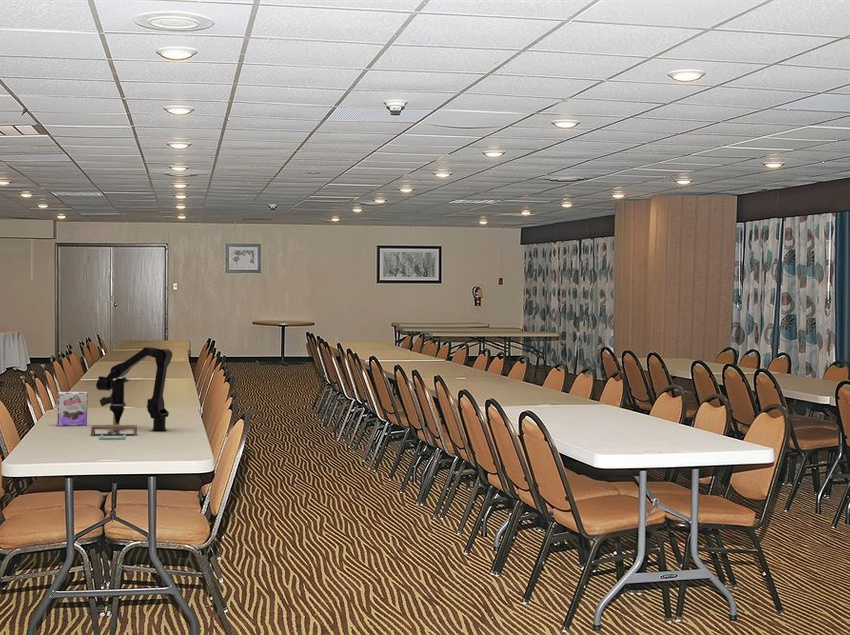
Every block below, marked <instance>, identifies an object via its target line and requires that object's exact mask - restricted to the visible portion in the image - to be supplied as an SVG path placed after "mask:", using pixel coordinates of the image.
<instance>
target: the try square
mask: <svg viewBox="0 0 850 635" xmlns="http://www.w3.org/2000/svg"><path fill="white" fill-rule="evenodd" d="M112 414H113V415H112V425H121V420H120V421H119V423H118V424H116V421H115V416H114V413H113V412H112ZM121 430H122V429H108V431H107V435H108V434H109V432H110V431H118V435H119V434H120V433H121ZM109 435H110V434H109Z"/></svg>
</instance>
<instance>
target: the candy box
mask: <svg viewBox="0 0 850 635" xmlns="http://www.w3.org/2000/svg"><path fill="white" fill-rule="evenodd" d="M88 394H89V393H88V392H87V391H58V392H57V414H56V416H57V418H56V425H57V427H81V426H82V427H84V426H85V427H86V426H88V424H87V423H88Z"/></svg>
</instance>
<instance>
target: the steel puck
mask: <svg viewBox="0 0 850 635" xmlns="http://www.w3.org/2000/svg"><path fill="white" fill-rule="evenodd" d="M118 435H119V434H118V431H110V432H109V436H118Z"/></svg>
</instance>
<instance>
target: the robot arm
mask: <svg viewBox="0 0 850 635" xmlns="http://www.w3.org/2000/svg"><path fill="white" fill-rule="evenodd" d="M148 357H150V358H154V359H155V364H156V371H155V372H156V373H155V378H154V385H153V394H152V395H151V398H148V399H147V403H146V410H147V412H148V414H149V415H150V419H152V420H153V421H152V425H153V426H152V429H151V431H152V432H166V431H167V428H166V422H167V420H166V418H168V417H169V414H170V412H169V411H168V410H167V409H166V408H165V401H164V400H165V399H164V391H165V390H164V388H165V384H166V376H167V370H168V367H169V365H170V364H171V361H172V358H173V352H172V351H171V350H170V349H169V348H156V347H152V346H146V347H143V348H142V349H141V350H140V351H138V352H137V353H136V354H134V355H132V356H131V357H129V358H128V359H127V360H125V361H124V362H121V363H118V364H116V365H113V366H112V367H111V368H110V371H109V373H108V374H107V376H101V375H99V376H98V379H97V381H96V384H95V387H96V389H97V390H98V391H111V394H110V396H107V397H106V396H103V397H101V399H99V403H100V406H101V407H105V406H106V405H109V404H110V405H109V411H111V412H112V414H113V413H114V416H115V421H116V424H118V423H119V421H120V422H121V418H122V416H123V413H124V410H125V409H126V408H125V407H126V401H125V383H129V382H130V381H129V379H127V377H126V376H127V374H128V373H129V372H130V371H131V369H132V368H133V367H135V366H137V365H138V364H140V362H142V361H144V360H145V359H146V358H148Z"/></svg>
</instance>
